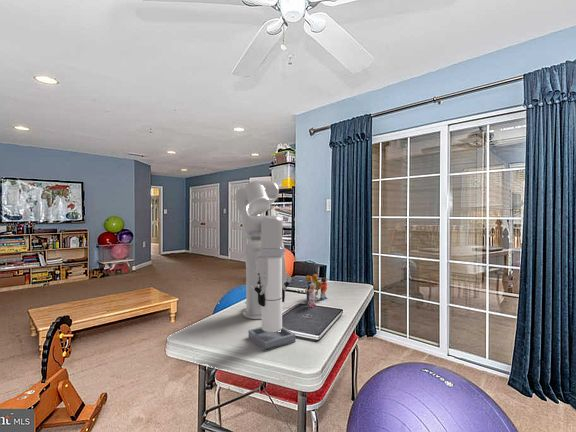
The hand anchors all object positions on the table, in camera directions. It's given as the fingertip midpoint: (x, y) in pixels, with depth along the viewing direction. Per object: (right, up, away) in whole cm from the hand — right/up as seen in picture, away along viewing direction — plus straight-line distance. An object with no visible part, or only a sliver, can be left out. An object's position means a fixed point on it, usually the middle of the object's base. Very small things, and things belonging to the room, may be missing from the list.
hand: (271, 302), depth 103 cm
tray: (0, -13, +1) cm, 13 cm away
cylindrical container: (0, -9, 0) cm, 9 cm away
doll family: (+18, -12, +41) cm, 46 cm away
